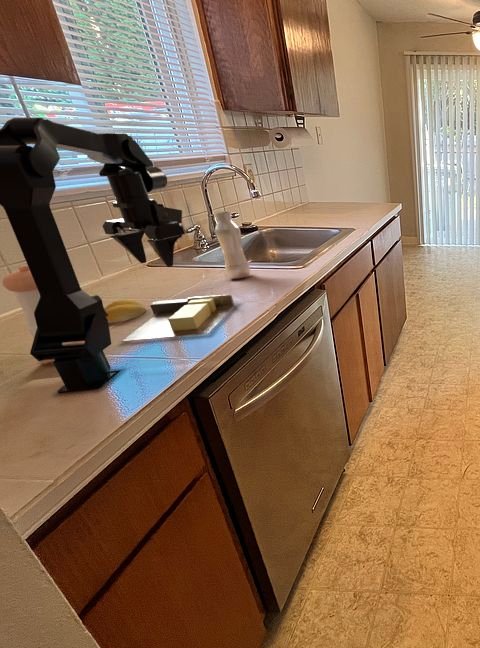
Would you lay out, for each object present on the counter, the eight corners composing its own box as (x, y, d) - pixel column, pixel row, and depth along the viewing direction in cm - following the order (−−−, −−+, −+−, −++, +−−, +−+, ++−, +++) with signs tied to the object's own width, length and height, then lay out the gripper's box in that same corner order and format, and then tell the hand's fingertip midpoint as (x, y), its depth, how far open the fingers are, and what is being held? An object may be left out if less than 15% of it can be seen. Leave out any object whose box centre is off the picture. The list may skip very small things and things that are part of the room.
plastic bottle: (235, 274, 128) (218, 210, 119) (256, 274, 127) (240, 210, 119) (223, 280, 122) (203, 214, 114) (244, 281, 122) (226, 214, 113)
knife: (235, 303, 103) (232, 292, 102) (232, 306, 101) (229, 295, 100) (158, 310, 100) (153, 299, 99) (153, 313, 98) (149, 302, 97)
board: (209, 336, 88) (208, 333, 88) (122, 344, 85) (121, 341, 85) (237, 305, 104) (236, 302, 104) (165, 311, 101) (164, 308, 101)
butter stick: (196, 328, 90) (192, 316, 89) (172, 331, 89) (167, 319, 88) (211, 314, 97) (207, 303, 96) (188, 316, 96) (184, 305, 95)
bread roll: (104, 328, 93) (97, 313, 91) (104, 316, 99) (97, 301, 97) (148, 318, 98) (142, 303, 96) (146, 307, 104) (140, 293, 102)
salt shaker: (42, 356, 81) (-7, 266, 73) (90, 343, 86) (49, 258, 78) (45, 369, 77) (-6, 275, 69) (95, 354, 82) (52, 265, 74)
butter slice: (213, 312, 98) (210, 301, 97) (191, 314, 98) (187, 302, 96) (216, 309, 100) (213, 298, 99) (194, 311, 99) (190, 300, 98)
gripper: (197, 192, 91) (216, 258, 97) (143, 190, 97) (165, 252, 103) (145, 200, 81) (170, 272, 88) (88, 196, 87) (116, 264, 94)
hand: (156, 264), depth 94 cm, fingers open, 9 cm apart
